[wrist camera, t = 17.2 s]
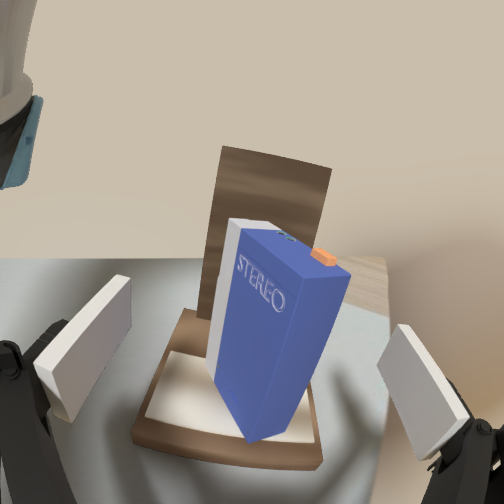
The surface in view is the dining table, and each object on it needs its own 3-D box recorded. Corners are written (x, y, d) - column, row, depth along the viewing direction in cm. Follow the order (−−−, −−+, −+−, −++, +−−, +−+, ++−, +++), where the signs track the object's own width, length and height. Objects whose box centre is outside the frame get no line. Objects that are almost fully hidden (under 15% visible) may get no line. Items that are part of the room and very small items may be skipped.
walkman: (285, 432, 16) (355, 267, 12) (247, 444, 15) (305, 269, 11) (236, 359, 22) (268, 214, 18) (204, 363, 21) (227, 211, 17)
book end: (315, 470, 15) (453, 207, 9) (133, 443, 14) (123, 133, 8) (296, 340, 29) (344, 172, 23) (183, 320, 29) (206, 143, 23)
